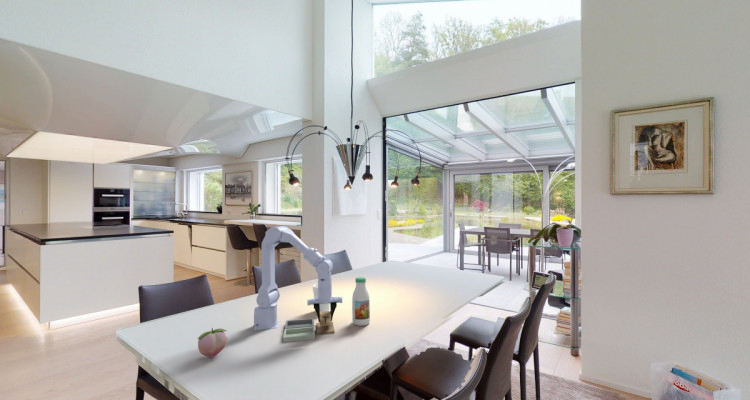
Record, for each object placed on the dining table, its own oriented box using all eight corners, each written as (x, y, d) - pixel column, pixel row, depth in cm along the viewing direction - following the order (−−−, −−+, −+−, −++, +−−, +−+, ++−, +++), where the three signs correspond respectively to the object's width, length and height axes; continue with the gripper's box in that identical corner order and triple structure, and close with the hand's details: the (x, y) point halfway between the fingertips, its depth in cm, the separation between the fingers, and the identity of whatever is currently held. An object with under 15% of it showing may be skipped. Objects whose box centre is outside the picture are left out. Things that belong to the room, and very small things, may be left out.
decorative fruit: (220, 348, 117) (220, 321, 117) (230, 355, 112) (230, 326, 112) (192, 358, 110) (192, 329, 110) (202, 365, 105) (202, 334, 105)
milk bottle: (349, 324, 139) (348, 278, 140) (358, 319, 146) (357, 275, 147) (364, 327, 136) (363, 280, 136) (372, 321, 143) (372, 276, 143)
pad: (317, 335, 128) (317, 332, 128) (316, 325, 138) (316, 323, 138) (334, 334, 129) (334, 331, 129) (332, 324, 140) (332, 321, 140)
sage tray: (283, 343, 121) (283, 337, 121) (284, 334, 130) (284, 329, 130) (314, 340, 124) (314, 334, 124) (314, 331, 132) (314, 326, 132)
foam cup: (334, 308, 161) (333, 283, 162) (329, 315, 152) (329, 287, 152) (315, 308, 162) (315, 282, 163) (310, 314, 153) (310, 287, 153)
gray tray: (284, 333, 131) (284, 328, 131) (286, 325, 140) (286, 320, 140) (314, 330, 133) (314, 325, 133) (313, 322, 142) (313, 318, 142)
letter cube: (320, 326, 131) (320, 315, 131) (319, 322, 136) (319, 311, 136) (331, 325, 132) (330, 314, 132) (330, 321, 137) (330, 311, 137)
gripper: (307, 292, 129) (307, 325, 128) (343, 289, 132) (343, 322, 131) (307, 287, 136) (307, 319, 135) (341, 285, 139) (341, 317, 138)
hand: (325, 320), depth 134 cm, fingers closed on letter cube, 4 cm apart
